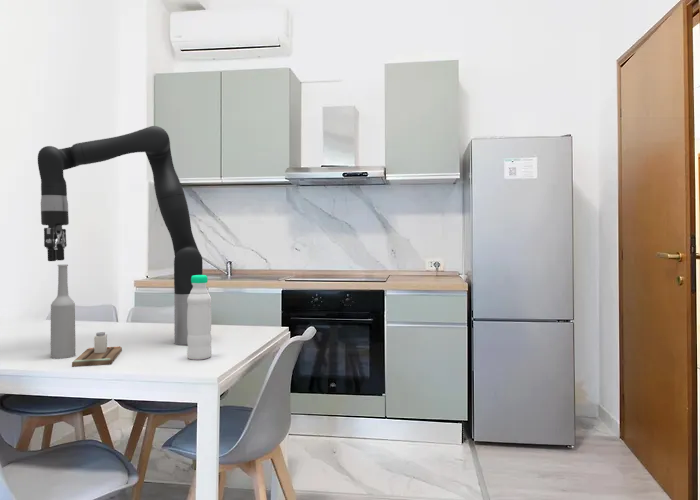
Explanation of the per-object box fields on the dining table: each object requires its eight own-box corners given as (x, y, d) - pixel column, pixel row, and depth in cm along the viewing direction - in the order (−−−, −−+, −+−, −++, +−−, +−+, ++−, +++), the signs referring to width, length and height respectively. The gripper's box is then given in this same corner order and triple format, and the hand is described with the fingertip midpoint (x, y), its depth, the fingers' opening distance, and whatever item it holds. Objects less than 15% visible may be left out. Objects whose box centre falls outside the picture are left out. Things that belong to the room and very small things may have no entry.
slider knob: (107, 350, 150) (107, 331, 150) (105, 352, 147) (105, 333, 147) (96, 351, 149) (96, 332, 149) (94, 353, 146) (94, 334, 146)
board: (121, 350, 155) (121, 345, 155) (111, 364, 138) (111, 358, 138) (87, 352, 153) (87, 347, 153) (72, 366, 135) (71, 360, 135)
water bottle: (198, 361, 142) (198, 276, 142) (182, 358, 146) (182, 275, 145) (216, 356, 148) (216, 275, 148) (200, 353, 152) (200, 274, 151)
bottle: (49, 355, 149) (48, 264, 148) (73, 352, 153) (73, 264, 152) (51, 359, 143) (51, 265, 143) (77, 356, 147) (76, 264, 147)
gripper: (61, 208, 149) (63, 261, 150) (73, 211, 163) (75, 259, 163) (33, 208, 147) (35, 262, 148) (48, 211, 161) (50, 260, 161)
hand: (56, 260), depth 156 cm, fingers open, 8 cm apart
